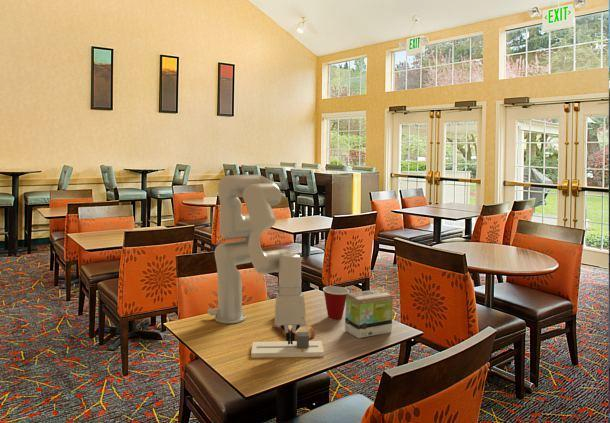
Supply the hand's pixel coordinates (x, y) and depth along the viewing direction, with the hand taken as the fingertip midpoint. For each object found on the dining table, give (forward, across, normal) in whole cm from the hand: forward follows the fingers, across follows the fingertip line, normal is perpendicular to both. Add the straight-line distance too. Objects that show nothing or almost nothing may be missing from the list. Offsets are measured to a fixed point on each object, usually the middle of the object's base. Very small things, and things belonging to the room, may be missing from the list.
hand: (290, 342), depth 171 cm
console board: (+3, -1, 0) cm, 3 cm away
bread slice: (+4, +1, +18) cm, 19 cm away
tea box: (+3, +30, +17) cm, 34 cm away
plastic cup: (+3, +19, +34) cm, 39 cm away
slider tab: (+1, +4, 0) cm, 4 cm away
